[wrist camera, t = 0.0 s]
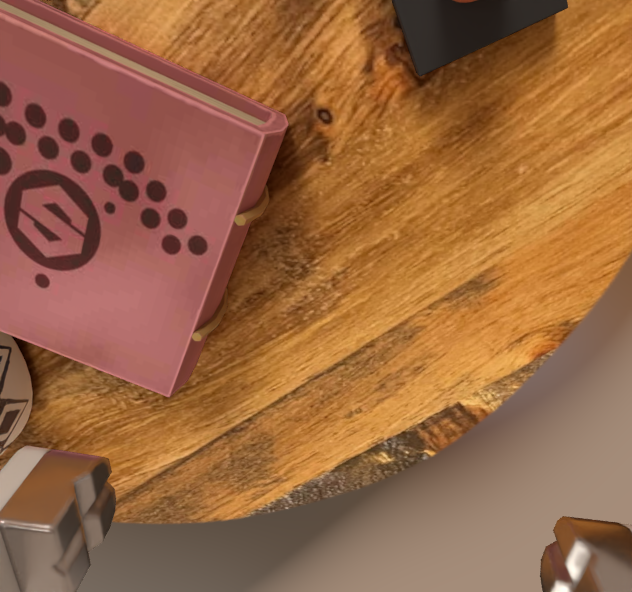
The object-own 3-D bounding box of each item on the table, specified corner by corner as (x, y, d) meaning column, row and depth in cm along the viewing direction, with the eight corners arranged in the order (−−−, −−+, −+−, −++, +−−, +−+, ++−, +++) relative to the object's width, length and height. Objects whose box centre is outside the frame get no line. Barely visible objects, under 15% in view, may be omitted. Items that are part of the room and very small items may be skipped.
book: (212, 349, 31) (185, 403, 26) (-37, 248, 29) (-110, 287, 25) (302, 122, 24) (286, 143, 20) (-14, -24, 23) (-109, -37, 18)
